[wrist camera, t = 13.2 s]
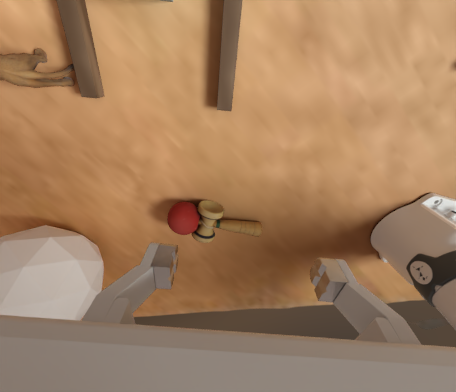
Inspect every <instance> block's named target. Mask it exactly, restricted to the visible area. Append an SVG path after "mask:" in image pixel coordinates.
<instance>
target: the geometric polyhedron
mask: <svg viewBox="0 0 456 392" xmlns="http://www.w3.org/2000/svg"><path fill="white" fill-rule="evenodd" d="M103 274H104V265H103V260H102V257H101V254H100V251H99V248H98V246H97V245H96V244H94V243H93V242H91V241H90V240H89V239H87V238H86V237H84V236H83V235H81V234H78V233H76V232H73V231H69V230H65V229H61V228H56V227H52V226H48V225H44V226H40V227H36V228H32V229H28V230H24V231H21V232H17V233H13V234H9V235H5V236H3V237H1V238H0V315H11V316H24V317H38V318H52V319H65V320H79V321H80V320H81V319H82V317H83V316H84V315H85V314H86V312H87V310H88V309H89V307H90V305H91V304H92V302H93V300H94V298H95V297H96V295H97V294H98V293H100V292H101V291H102V283H103Z"/></svg>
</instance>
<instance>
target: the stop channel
mask: <svg viewBox="0 0 456 392" xmlns="http://www.w3.org/2000/svg"><path fill="white" fill-rule="evenodd" d="M57 4H58V8H59V11H60V15H61V19H62V23H63V27H64V31H65V35H66V38H67V42H68V46H69V50H70V54H71V58H72V61H73V65H74V69H75V73H76V77H77V81H78V85H79V88H80V92H81V96H82V97H89V98H100V97H103V96H104V92H103V87H102V82H101V77H100V72H99V67H98V62H97V58H96V53H95V48H94V43H93V38H92V33H91V28H90V24H89V19H88V14H87V9H86V4H85V0H57ZM241 8H242V0H224V7H223V23H222V39H221V55H220V71H219V87H218V103H217V110H224V111H231V110H232V99H233V89H234V79H235V69H236V59H237V49H238V38H239V28H240V18H241Z"/></svg>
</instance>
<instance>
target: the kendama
mask: <svg viewBox="0 0 456 392" xmlns="http://www.w3.org/2000/svg"><path fill="white" fill-rule="evenodd" d="M223 213H224V208H223V207H222V206H221V205H220V204H218V203H216V202H214V201H209V200H204V201H201V202H200V203H199V205H198V208H197V207H196V206H195V205H194V204H192V203H189V202H179V203H177V204H175V205H174V206H173V207H172V208H171V209H170V211H169V213H168V224H169V227H170V228H171V229H172V230H173V231H174V232H175V233H177V234H181V235H187V234H190V233H192V236H193V238H194V239H196V240H197V241H199V242H202V243H209V242H211V241H213V239H214V237H215V233H214V231H213V228H214V227H217V228H220V229H224V230H228V231H232V232H238V233H243V234H248V235H253V236H257V237H259V236H260V235H261V233H262V224H261V222H252V221H239V220H217V219H220V218H221V217H222V216H223Z"/></svg>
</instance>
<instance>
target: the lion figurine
mask: <svg viewBox="0 0 456 392" xmlns="http://www.w3.org/2000/svg"><path fill="white" fill-rule="evenodd" d="M34 53H35V55H32V54H26V53H22V54H8V55H1V54H0V80H6V81H8V82H10V83H12V84H15V85H18V86H28V87H34V88H40V87H50V86H61V87H65V86H73V85H74V81H73V80H72V78H70V77H64V78H63V79H58V80H49V78H57V77H62V76H64V75H66V74H68V73H70V72H71V71H73V70H75V69H74V65H73V64H71V65H69V66H68V67H67V68H66V69H64V70H62V71H59V72H52V73H41V72H37V71H35V70H34V69H35V68H36V66H37V64H38V63H39V62H42V63H45V62H47V56H46V53H45V52H44V51H43V50H42V49H39V48H37V49H35V50H34Z"/></svg>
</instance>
